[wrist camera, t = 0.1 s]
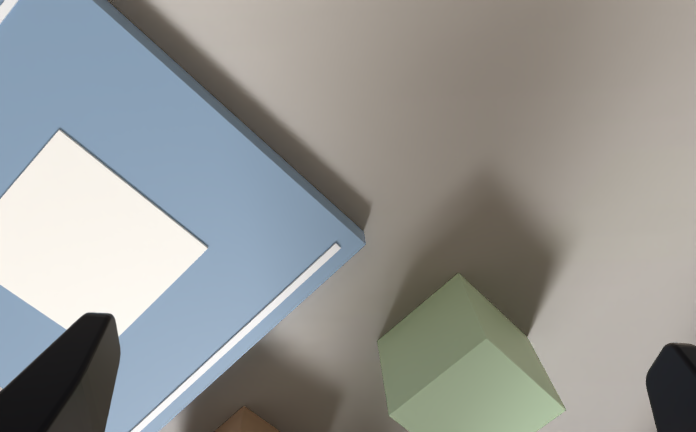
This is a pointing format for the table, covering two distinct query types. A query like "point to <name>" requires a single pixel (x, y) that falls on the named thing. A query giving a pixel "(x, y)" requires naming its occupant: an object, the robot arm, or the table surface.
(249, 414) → the walnut block
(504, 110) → the table surface
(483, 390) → the green block
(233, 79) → the table surface
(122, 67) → the board
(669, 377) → the robot arm
